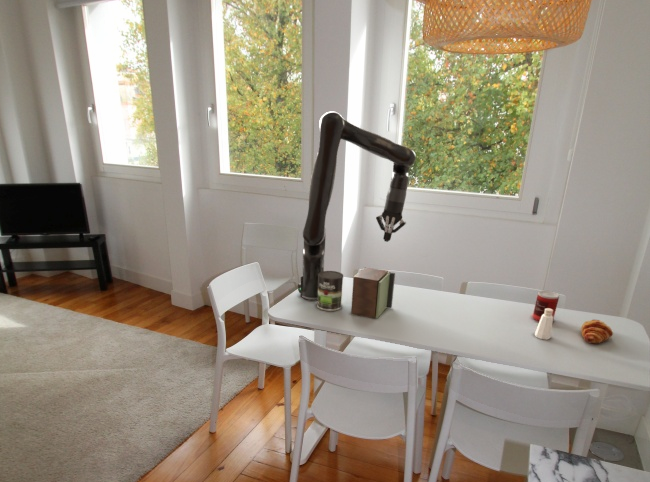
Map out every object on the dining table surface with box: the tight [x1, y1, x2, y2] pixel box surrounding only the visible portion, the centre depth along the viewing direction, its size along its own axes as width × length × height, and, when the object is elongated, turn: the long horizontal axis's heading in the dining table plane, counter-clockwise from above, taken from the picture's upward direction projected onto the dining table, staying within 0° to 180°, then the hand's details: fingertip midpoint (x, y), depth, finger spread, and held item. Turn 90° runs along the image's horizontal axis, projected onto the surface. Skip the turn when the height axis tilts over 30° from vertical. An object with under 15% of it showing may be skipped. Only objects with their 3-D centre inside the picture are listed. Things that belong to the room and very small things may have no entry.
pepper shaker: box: [534, 308, 554, 341], centre depth 172 cm, size 5×5×11 cm
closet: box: [350, 267, 389, 320], centre depth 191 cm, size 10×14×16 cm
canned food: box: [532, 290, 560, 323], centre depth 187 cm, size 8×8×11 cm
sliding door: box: [375, 271, 396, 319], centre depth 188 cm, size 3×14×15 cm, turn 155°
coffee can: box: [316, 270, 344, 312], centre depth 194 cm, size 10×10×14 cm
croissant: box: [580, 319, 614, 344], centre depth 174 cm, size 21×10×8 cm, turn 141°
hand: (386, 241), depth 197 cm, fingers closed
